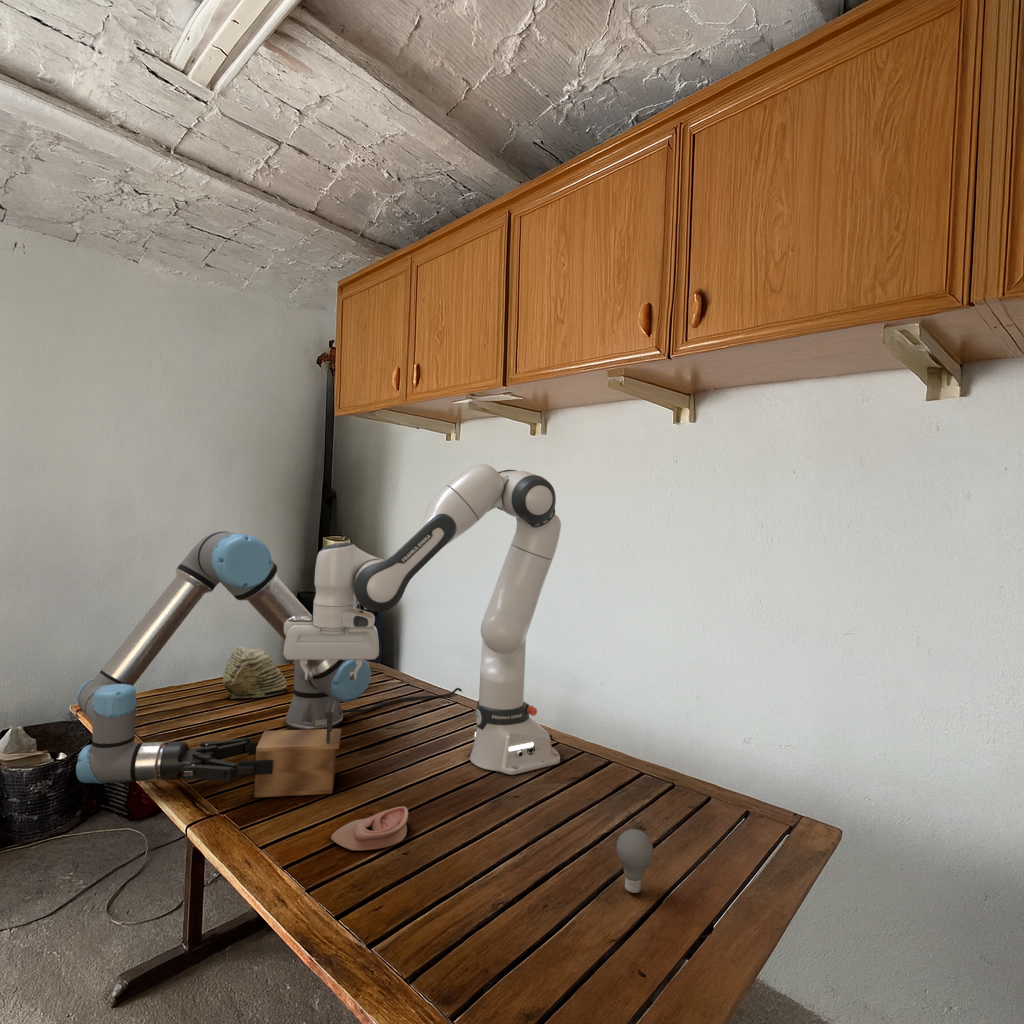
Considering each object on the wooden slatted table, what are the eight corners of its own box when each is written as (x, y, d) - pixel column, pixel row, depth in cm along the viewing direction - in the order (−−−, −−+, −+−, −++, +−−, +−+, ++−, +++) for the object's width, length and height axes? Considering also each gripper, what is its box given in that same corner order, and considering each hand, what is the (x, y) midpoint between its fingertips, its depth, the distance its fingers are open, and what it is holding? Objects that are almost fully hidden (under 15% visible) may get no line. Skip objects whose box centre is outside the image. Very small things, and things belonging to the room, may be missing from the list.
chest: (335, 774, 145) (337, 732, 145) (332, 793, 135) (334, 749, 135) (262, 777, 142) (264, 734, 141) (254, 797, 132) (255, 752, 132)
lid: (341, 732, 145) (342, 697, 145) (338, 749, 135) (340, 712, 135) (264, 734, 141) (265, 699, 141) (255, 751, 132) (257, 714, 132)
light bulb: (610, 879, 108) (613, 822, 108) (644, 879, 109) (647, 822, 109) (619, 902, 102) (622, 840, 102) (655, 901, 103) (658, 840, 103)
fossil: (218, 695, 195) (220, 647, 195) (278, 685, 208) (279, 640, 207) (228, 703, 189) (230, 653, 188) (289, 692, 201) (290, 645, 201)
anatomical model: (323, 824, 115) (352, 795, 126) (322, 845, 115) (351, 815, 126) (392, 835, 112) (415, 805, 123) (391, 857, 112) (414, 825, 123)
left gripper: (179, 757, 144) (283, 753, 148) (144, 804, 122) (266, 798, 127) (181, 724, 144) (284, 721, 148) (145, 765, 122) (268, 760, 126)
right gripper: (281, 618, 134) (279, 683, 134) (380, 619, 138) (377, 682, 138) (286, 613, 140) (283, 675, 140) (380, 614, 144) (377, 674, 145)
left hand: (276, 756), depth 137 cm, fingers closed on chest, 10 cm apart
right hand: (331, 679), depth 139 cm, fingers open, 8 cm apart
